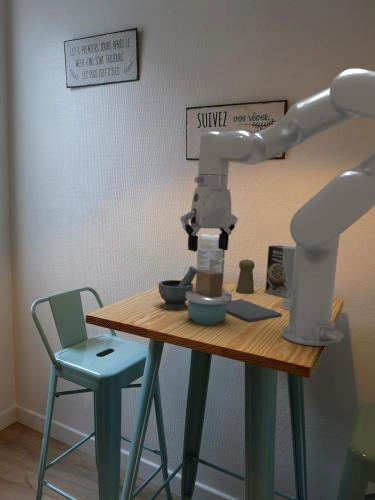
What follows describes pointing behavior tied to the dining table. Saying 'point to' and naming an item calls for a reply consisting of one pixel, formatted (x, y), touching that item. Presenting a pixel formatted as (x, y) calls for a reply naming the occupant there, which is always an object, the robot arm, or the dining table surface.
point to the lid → (208, 289)
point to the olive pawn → (246, 277)
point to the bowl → (206, 313)
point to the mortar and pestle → (177, 290)
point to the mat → (250, 311)
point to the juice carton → (210, 253)
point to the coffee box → (276, 273)
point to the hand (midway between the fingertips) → (208, 250)
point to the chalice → (288, 271)
